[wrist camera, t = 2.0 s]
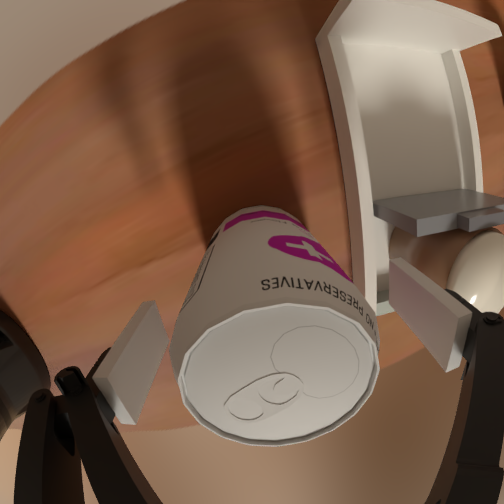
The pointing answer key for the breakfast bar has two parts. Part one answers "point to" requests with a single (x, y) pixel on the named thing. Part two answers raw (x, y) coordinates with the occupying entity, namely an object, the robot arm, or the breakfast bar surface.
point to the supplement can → (273, 335)
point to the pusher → (441, 211)
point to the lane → (399, 114)
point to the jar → (458, 262)
